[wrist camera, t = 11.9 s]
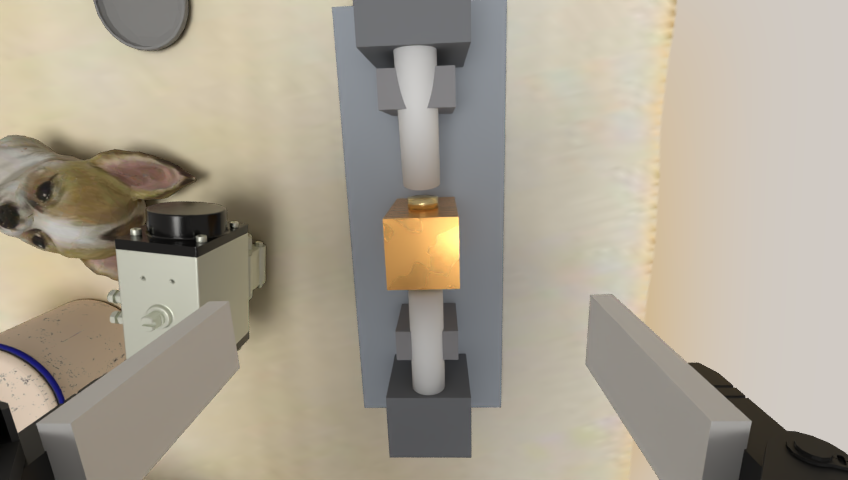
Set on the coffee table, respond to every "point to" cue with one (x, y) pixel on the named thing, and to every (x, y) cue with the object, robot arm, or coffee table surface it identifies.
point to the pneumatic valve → (184, 270)
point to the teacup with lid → (57, 357)
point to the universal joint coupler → (422, 243)
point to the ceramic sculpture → (79, 198)
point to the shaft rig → (426, 175)
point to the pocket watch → (144, 21)
